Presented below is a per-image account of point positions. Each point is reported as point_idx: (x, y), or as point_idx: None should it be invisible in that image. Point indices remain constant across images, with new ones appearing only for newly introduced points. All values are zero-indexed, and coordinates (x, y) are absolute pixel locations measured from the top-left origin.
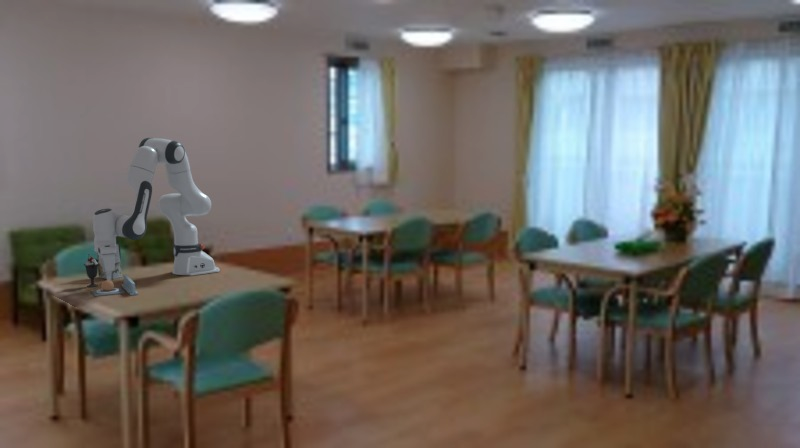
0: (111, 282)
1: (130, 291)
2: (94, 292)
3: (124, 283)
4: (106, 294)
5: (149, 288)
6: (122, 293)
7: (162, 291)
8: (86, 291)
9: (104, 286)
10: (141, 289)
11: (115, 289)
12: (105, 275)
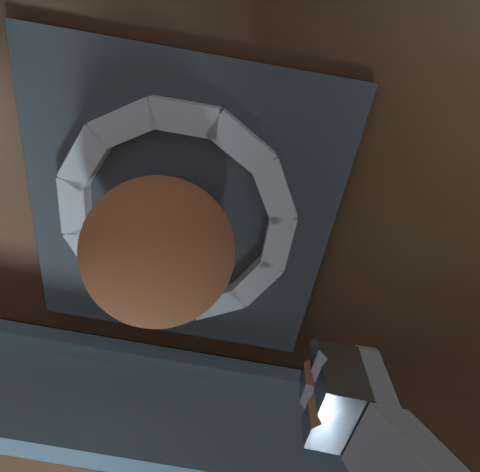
0: (103, 309)
1: (33, 348)
2: (215, 77)
3: None
4: (28, 159)
5: None
6: (46, 291)
7: (24, 463)
8: (423, 21)
9: (99, 201)
10: None
11: None
12: (310, 364)
